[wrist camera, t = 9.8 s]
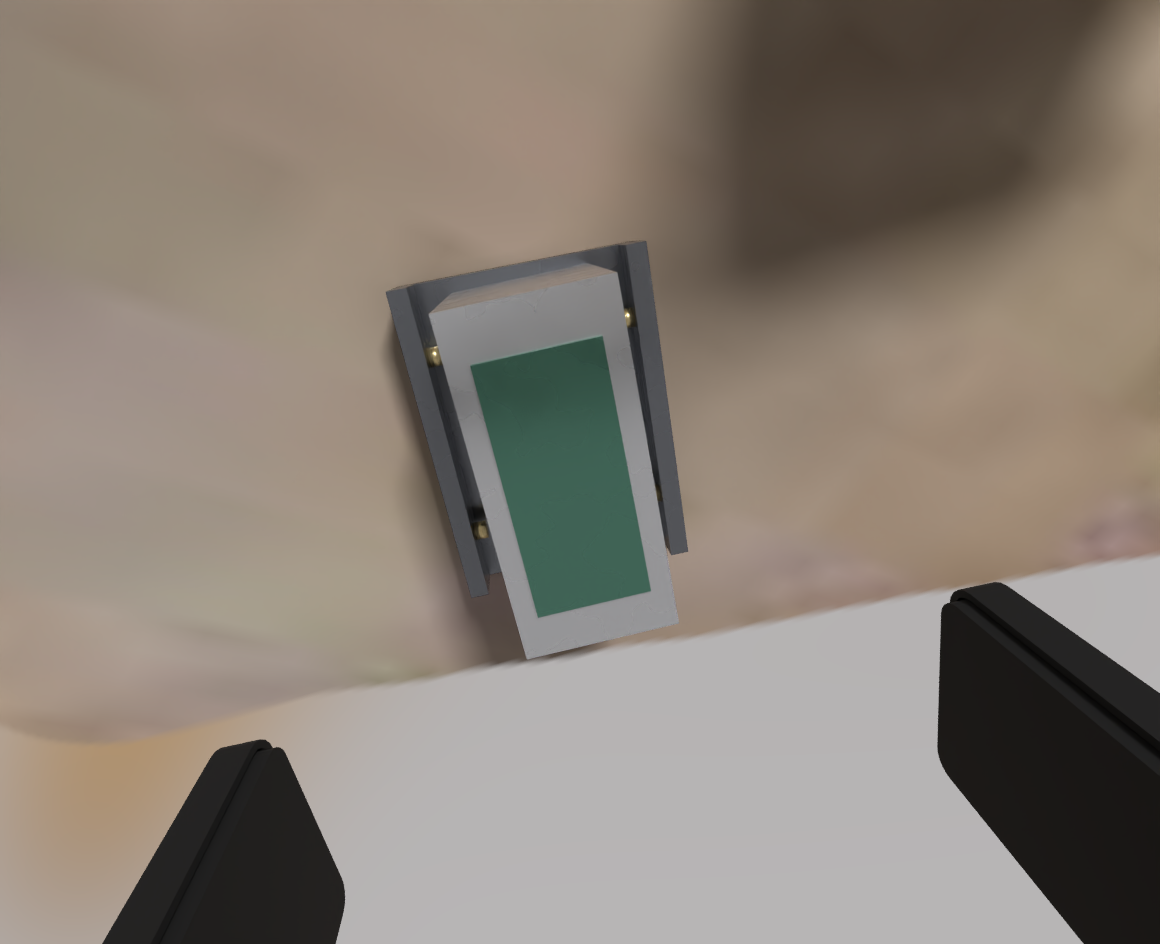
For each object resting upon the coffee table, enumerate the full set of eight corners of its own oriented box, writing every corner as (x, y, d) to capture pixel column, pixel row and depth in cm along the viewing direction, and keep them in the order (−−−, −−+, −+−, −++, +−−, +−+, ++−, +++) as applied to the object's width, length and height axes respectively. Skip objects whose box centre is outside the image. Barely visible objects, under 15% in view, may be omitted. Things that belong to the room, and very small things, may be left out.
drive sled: (633, 240, 24) (646, 241, 22) (673, 526, 28) (688, 551, 26) (397, 286, 23) (385, 291, 21) (474, 568, 28) (471, 597, 25)
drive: (586, 263, 23) (618, 272, 16) (637, 530, 27) (680, 625, 20) (451, 292, 23) (427, 314, 16) (522, 557, 27) (526, 662, 20)
